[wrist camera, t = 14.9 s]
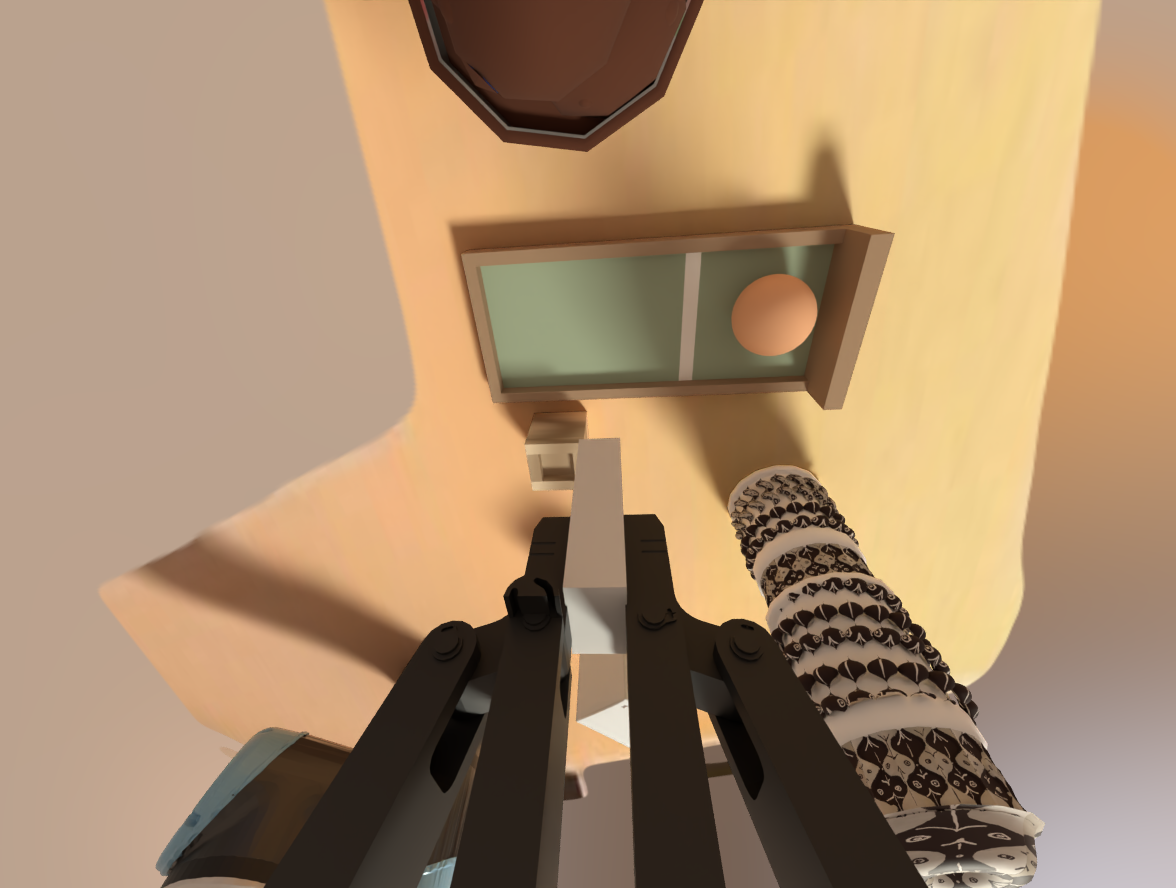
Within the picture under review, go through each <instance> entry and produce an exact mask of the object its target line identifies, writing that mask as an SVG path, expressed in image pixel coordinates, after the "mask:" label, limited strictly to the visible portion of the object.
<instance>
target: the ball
mask: <svg viewBox="0 0 1176 888" xmlns="http://www.w3.org/2000/svg"><path fill="white" fill-rule="evenodd" d="M816 318H817V302H816V299H815V296H814V294H813V292H812V290H811V289H810V288H809V286H808V285H807V284H806V283H805V282H803V281H802V280H800V279H798V278H796V277H794V276H791V275H786V274H772V275H768V276H764V277H762V278H759V279H757V280H756V281H754V282H752V283H751V284H750V285H748V286H747V287H746V288H745V289H744V290H743V291H742V292H741V294H740V295H739V297H738V298H737V300H736V302H735V304H734V307H733V311H732V317H731V322H732V329H733V332H734V335H735V337H736V339H737V340H738V342H739V343H740V344H741V345H742V346H743V347H744V348H745V349H747V350H749V351H750V352H752V353H755V354H758V355H762V356H777V355H781V354H784V353H787V352H789V351H791V350H793V349H795V348H796V347H798V346H799V345H800V344H801V343H803V342H804V341H805V339H806V338H807V337H808V336H809V334H810V333H811V331H812V329H813V327H814V325H815V322H816Z"/></svg>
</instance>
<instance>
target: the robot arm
mask: <svg viewBox="0 0 1176 888" xmlns="http://www.w3.org/2000/svg"><path fill="white" fill-rule="evenodd" d="M531 543H532V544H531V547H530V552H529V557H528V562H527V566H526V571H525V575H524V576H522V577H520V578H518V579H516V580H515V581H514V582H513V583H512V584H511V585H510V586H509V587H508V588H507V590H506V592H505V594H504V596H503V597H504V600H505V604H506V608H507V612H508V615H507V616H505V617H504V618H502V619H500V620H498V621H496V622H493V623H490V624H487V625H484V626H481V627H477V628H474V629H473V628H472V626H471V625H469V624H467V623H465V622H463V621H450V622H447V623H444V624H441V625H440V626H438V627H436V628H435V629H433V630H432V631H431V632H430V633H429V634H428V635H427V637H426V638H425V639H424V640H423V642H422V643H421V645H420V646H419V648H418V649H417V651H416V653H415V654H414V656H413V657H412V659H411V660H410V662H409V663H408V665H407V666H406V668H405V669H404V670H403V672H402V674H401V676H400V677H399V679H398V680H397V682H396V683H395V685H394V687H393V688H392V690H391V691H390V693H389V694H388V696H387V697H386V699H385V700H384V702H383V704H382V705H381V707H380V708H379V710H378V711H377V713H376V714H375V716H374V717H373V719H372V721H371V722H370V724H369V725H368V727H367V728H366V730H365V731H364V733H363V734H362V736H361V738H360V739H359V741H358V742H357V744H356V745H355V747H354V748H351V747H347V746H344V745H341V744H338V743H334V742H331V741H328V740H325V739H321V738H318V737H315V736H312V735H309V733H308V732H301V733H299V732H295V731H291V730H286V729H282V728H278V727H270V728H267V729H264V730H262V731H260V732H258V733H257V734H256V735H254V736H253V737H252V738H251V739H250V740H249V741H248V742H247V743H246V744H245V745H244V746H243V747H242V749H241V750H240V751H239V752H238V753H237V754H236V756H235V757H234V758H233V759H232V760H231V762H230V763H229V764H228V765H227V766H226V768H225V769H224V770H223V771H222V773H221V774H220V775H219V777H218V778H217V779H216V780H215V781H214V783H213V784H212V785H211V787H210V788H209V789H208V790H207V792H206V793H205V794H204V796H203V797H202V798H201V800H200V801H199V803H198V804H197V805H196V807H195V808H194V810H193V812H192V814H190V815H189V816H188V818H187V819H186V821H185V822H184V823H183V825H182V826H181V827H180V828H179V829H178V831H177V832H176V834H175V835H174V836H173V838H172V839H171V841H170V842H169V843H168V845H167V846H166V848H165V850H164V851H163V853H162V854H161V856H160V857H159V860H158V862H157V864H156V869H157V870H158V871H160V874H161V875H162V876H168V877H167V879H166V880H165V882H164V883H163V885H162V887H161V888H557V882H558V866H559V852H560V839H561V823H562V810H563V795H564V781H565V766H566V752H567V738H568V723H569V709H570V694H571V680H572V674H571V666H570V660H571V647H572V654H627V684H628V709H629V737H630V765H631V793H632V819H633V820H632V821H633V848H634V876H635V888H726V887H725V881H724V875H723V869H722V863H721V856H720V851H719V844H718V838H717V832H716V826H715V820H714V813H713V808H712V802H711V795H710V789H709V783H708V777H707V770H706V764H705V758H704V752H703V746H702V740H701V734H700V728H699V721H698V715H697V709H700V710H703V711H705V712H708V714H709V717H710V719H711V722H712V724H713V726H714V729H715V731H716V734H717V736H718V739H719V741H720V743H721V746H722V748H723V750H724V753H725V756H726V758H727V760H728V763H729V765H730V768H731V770H732V773H733V775H734V777H735V780H736V782H737V785H738V787H739V790H740V792H741V794H742V797H743V799H744V802H745V804H746V807H747V809H748V811H749V814H750V816H751V819H752V821H753V824H754V826H755V828H756V831H757V833H758V836H759V838H760V840H761V843H762V845H763V848H764V850H765V853H766V855H767V857H768V860H769V862H770V864H771V867H772V869H773V872H774V874H775V877H776V879H777V882H778V884H779V887H780V888H928V886H927V884H926V883H925V881H924V880H923V878H922V876H921V875H920V873H919V871H918V870H917V868H916V867H915V865H914V863H913V862H912V860H911V859H910V857H909V855H908V854H907V852H906V851H905V849H904V847H903V846H902V844H901V843H900V841H899V839H898V838H897V836H896V835H895V833H894V831H893V830H892V828H891V827H890V825H889V823H888V822H887V820H886V819H885V817H884V815H883V814H882V812H881V810H880V809H879V807H878V806H877V804H876V802H875V801H874V799H873V798H872V796H871V794H870V793H869V791H868V790H867V788H866V786H865V785H864V783H863V782H862V780H861V778H860V777H859V775H858V774H857V772H856V770H855V769H854V767H853V766H852V764H851V762H850V761H849V759H848V758H847V756H846V754H845V753H844V751H843V749H842V748H841V746H840V745H839V743H838V741H837V740H836V738H835V737H834V735H833V733H832V732H831V730H830V729H829V727H828V725H827V724H826V722H825V721H824V719H823V717H822V716H821V714H820V713H819V711H818V709H817V708H816V706H815V705H814V703H813V701H812V700H811V698H810V696H809V695H808V693H807V692H806V690H805V688H804V687H803V685H802V684H801V682H800V680H799V679H798V677H797V676H796V674H795V672H794V671H793V669H792V668H791V666H790V664H789V663H788V661H787V660H786V658H785V656H784V655H783V653H782V652H781V650H780V648H779V647H778V645H777V644H776V642H775V640H774V639H773V638H772V636H771V635H770V634H769V633H768V632H767V631H766V629H764V628H763V627H761V626H760V625H758V624H756V623H755V622H752V621H749V620H745V619H731V620H729V621H727V622H725V623H723V624H722V625H721V626H717V625H713V624H710V623H707V622H703V621H701V620H698V619H696V618H694V617H692V616H690V615H689V614H687V613H686V612H685V611H684V610H683V609H682V608H681V607H680V605H679V604H678V602H677V600H676V597H675V594H674V588H673V582H672V576H671V569H670V563H669V557H668V550H667V544H666V538H665V531H664V526H663V524H662V523H661V522H660V520H659V519H658V518H657V516H656V515H655V514H642V515H623V496H622V474H621V452H620V438H602V439H579V444H578V453H577V462H576V471H575V480H574V490H573V499H572V508H571V517H543V518H542V520H541V521H540V522H539V524H538V525H537V526H536V528H535V529H534V533H533V537H532V542H531ZM696 708H697V709H696Z"/></svg>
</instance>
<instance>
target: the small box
mask: <svg viewBox="0 0 1176 888" xmlns="http://www.w3.org/2000/svg"><path fill="white" fill-rule="evenodd" d="M576 722H578V723H581V724H583V725H585V726H587V727H589V728H591V729H593V730H595V731H597V732H599V733H601V734H603V735H605V736H607V737H609V738H611V739H613V740H615V741H617V742H619V743H621V744H623V745H625V746H627V747H629V748H630V737H629V709H628V684H627V654H580V660H579V678H578V696H577V713H576Z"/></svg>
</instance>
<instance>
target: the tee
mask: <svg viewBox="0 0 1176 888" xmlns="http://www.w3.org/2000/svg"><path fill="white" fill-rule="evenodd" d="M579 439H589V433H588V420H587V411H581V412H553V413H534V416H533V419H532V423H531V426H530V429H529V432H528V435H527V439H526V442H525V450H526V456H527V461H528V467H529V472H530V478H531V484H532V489H533V491H542V490H574V480H575V471H576V462H577V453H578V444H579Z"/></svg>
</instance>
